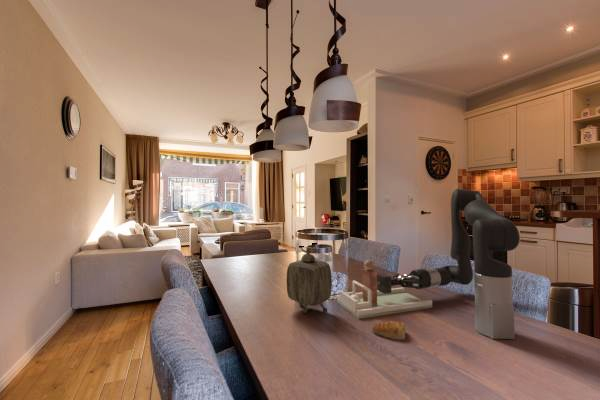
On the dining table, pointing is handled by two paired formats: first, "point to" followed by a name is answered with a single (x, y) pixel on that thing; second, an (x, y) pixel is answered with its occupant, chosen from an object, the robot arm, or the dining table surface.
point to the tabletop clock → (309, 281)
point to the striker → (374, 282)
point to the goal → (353, 303)
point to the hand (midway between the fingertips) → (387, 282)
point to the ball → (356, 298)
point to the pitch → (390, 303)
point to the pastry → (390, 330)
